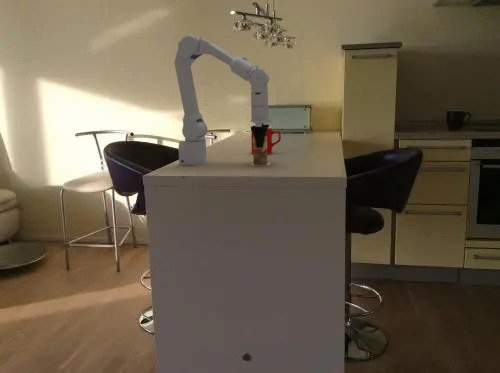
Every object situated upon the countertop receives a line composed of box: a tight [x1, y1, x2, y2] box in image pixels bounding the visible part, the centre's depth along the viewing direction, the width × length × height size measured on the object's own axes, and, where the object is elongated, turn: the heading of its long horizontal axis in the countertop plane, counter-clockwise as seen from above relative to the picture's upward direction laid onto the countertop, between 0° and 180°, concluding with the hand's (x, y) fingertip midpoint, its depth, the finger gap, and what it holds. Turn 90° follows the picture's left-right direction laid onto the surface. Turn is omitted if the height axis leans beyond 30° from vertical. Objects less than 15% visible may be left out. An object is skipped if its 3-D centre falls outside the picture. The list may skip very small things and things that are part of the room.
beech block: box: [253, 136, 267, 150], centre depth 165 cm, size 4×4×4 cm
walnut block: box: [252, 151, 269, 166], centre depth 166 cm, size 4×4×4 cm
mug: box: [250, 126, 282, 156], centre depth 200 cm, size 12×8×11 cm
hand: (260, 146), depth 166 cm, fingers closed on beech block, 4 cm apart
